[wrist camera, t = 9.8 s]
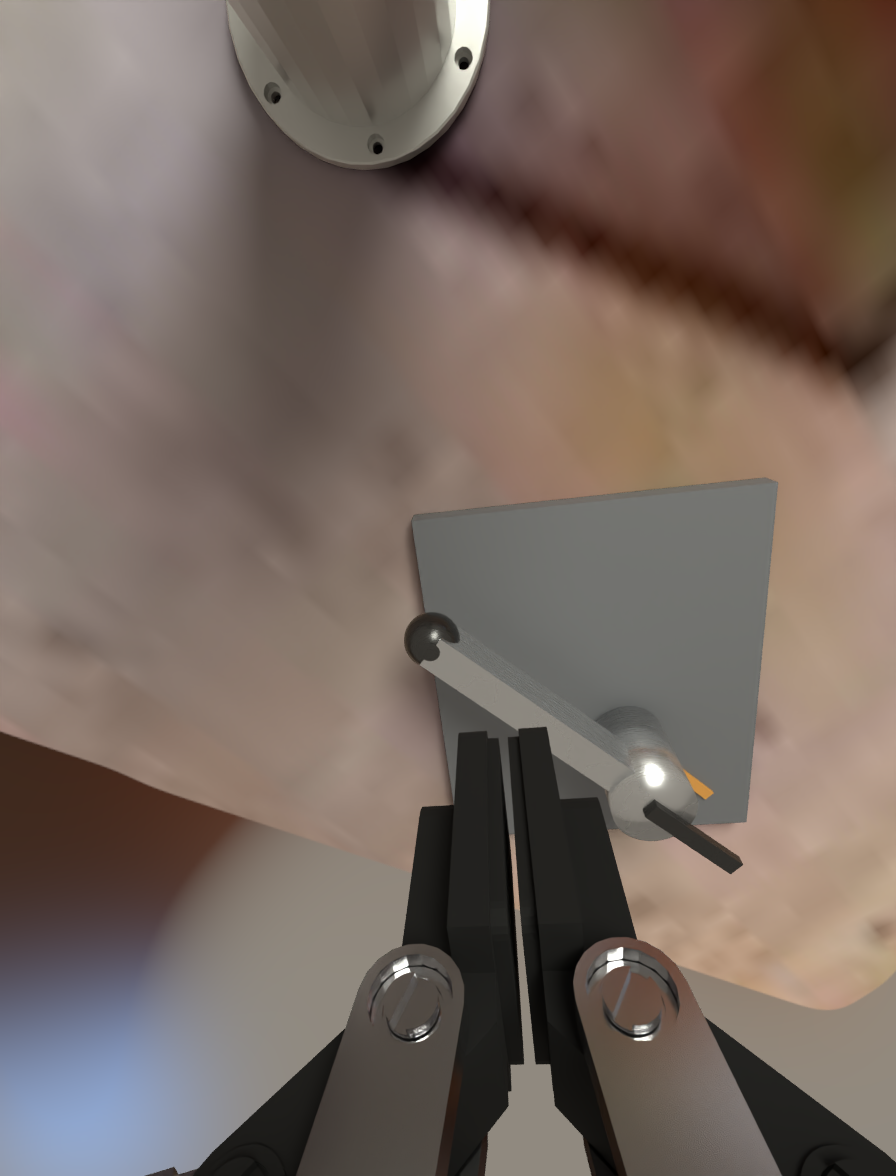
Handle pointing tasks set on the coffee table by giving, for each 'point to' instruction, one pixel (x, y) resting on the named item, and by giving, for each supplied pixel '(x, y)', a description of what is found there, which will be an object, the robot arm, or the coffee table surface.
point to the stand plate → (617, 619)
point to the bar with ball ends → (576, 736)
